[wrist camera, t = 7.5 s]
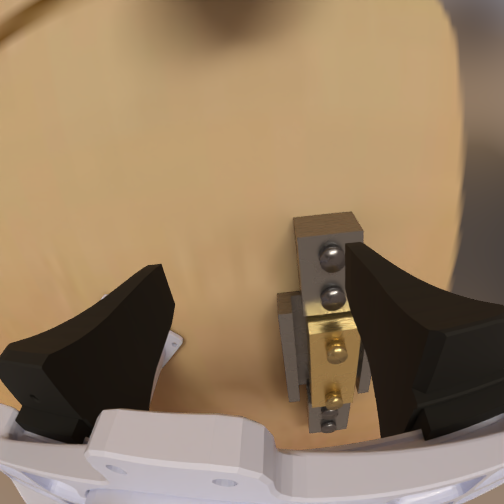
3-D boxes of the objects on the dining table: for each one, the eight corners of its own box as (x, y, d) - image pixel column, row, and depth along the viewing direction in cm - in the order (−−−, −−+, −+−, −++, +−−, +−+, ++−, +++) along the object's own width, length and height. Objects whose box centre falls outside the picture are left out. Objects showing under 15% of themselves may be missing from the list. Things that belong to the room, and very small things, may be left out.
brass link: (345, 368, 27) (354, 411, 23) (308, 373, 28) (312, 417, 23) (349, 292, 23) (364, 338, 19) (304, 297, 24) (310, 345, 19)
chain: (357, 404, 31) (363, 430, 28) (291, 412, 32) (292, 439, 29) (375, 209, 20) (393, 231, 17) (267, 220, 21) (267, 246, 18)
